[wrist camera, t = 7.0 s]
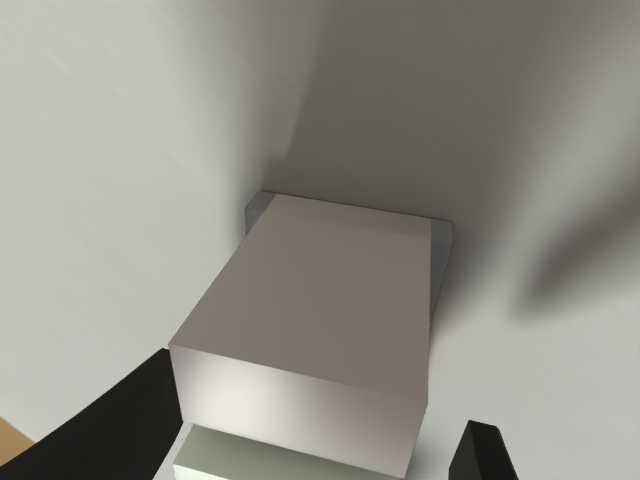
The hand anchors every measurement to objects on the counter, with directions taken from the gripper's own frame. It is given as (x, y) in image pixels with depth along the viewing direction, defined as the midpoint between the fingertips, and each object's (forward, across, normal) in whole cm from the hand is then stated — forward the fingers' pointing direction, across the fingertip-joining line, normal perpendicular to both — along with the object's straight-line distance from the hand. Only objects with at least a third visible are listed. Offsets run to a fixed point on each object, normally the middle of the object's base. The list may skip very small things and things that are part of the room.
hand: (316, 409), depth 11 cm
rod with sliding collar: (+3, 0, +4) cm, 5 cm away
